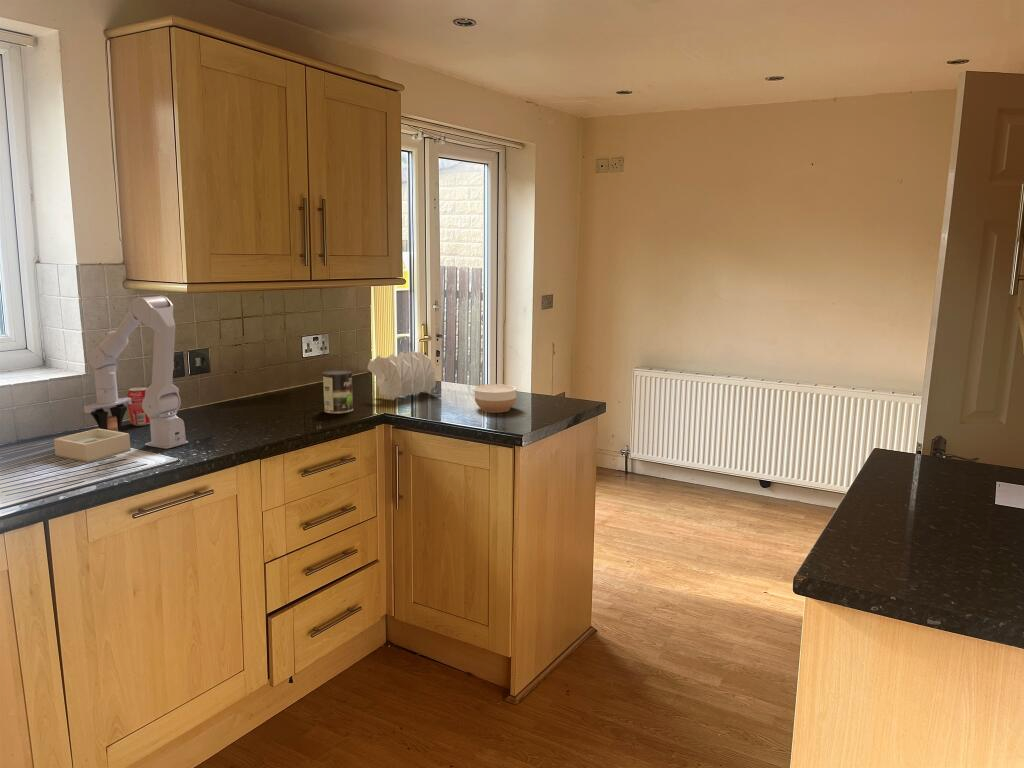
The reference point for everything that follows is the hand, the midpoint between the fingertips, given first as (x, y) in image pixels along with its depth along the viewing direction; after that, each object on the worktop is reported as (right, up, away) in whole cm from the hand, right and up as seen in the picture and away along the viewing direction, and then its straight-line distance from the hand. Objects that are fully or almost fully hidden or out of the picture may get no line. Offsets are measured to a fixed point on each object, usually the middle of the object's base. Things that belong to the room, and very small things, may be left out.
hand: (110, 431), depth 233 cm
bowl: (+117, +5, +44) cm, 125 cm away
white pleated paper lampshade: (+81, +9, +65) cm, 105 cm away
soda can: (0, +1, +19) cm, 19 cm away
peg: (0, -2, 0) cm, 2 cm away
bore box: (+3, -5, -15) cm, 17 cm away
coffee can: (+61, +5, +40) cm, 73 cm away
